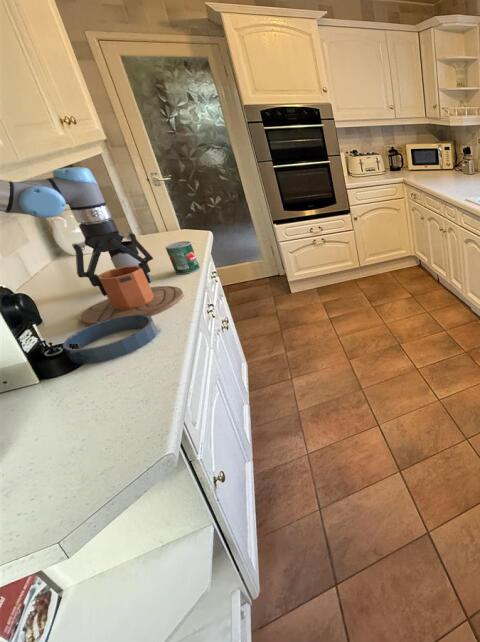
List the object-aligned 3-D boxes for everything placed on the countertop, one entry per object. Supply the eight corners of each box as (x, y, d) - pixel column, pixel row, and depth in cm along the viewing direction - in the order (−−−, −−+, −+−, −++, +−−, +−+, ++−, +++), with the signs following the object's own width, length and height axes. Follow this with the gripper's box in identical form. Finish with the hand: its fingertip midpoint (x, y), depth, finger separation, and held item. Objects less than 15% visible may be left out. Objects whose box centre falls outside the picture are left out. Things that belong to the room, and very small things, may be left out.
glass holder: (118, 288, 142) (100, 250, 136) (129, 275, 154) (112, 239, 148) (149, 283, 146) (132, 245, 140) (157, 270, 158) (142, 234, 151)
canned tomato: (173, 271, 156) (162, 245, 152) (197, 265, 162) (187, 239, 157) (178, 276, 152) (167, 249, 147) (202, 269, 157) (193, 243, 153)
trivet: (77, 338, 112) (73, 332, 112) (88, 306, 130) (85, 301, 129) (185, 309, 127) (183, 304, 126) (182, 284, 145) (181, 279, 144)
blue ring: (54, 373, 98) (43, 354, 96) (103, 335, 113) (95, 319, 111) (135, 362, 101) (126, 344, 99) (172, 327, 117) (165, 311, 114)
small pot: (159, 302, 128) (145, 271, 123) (118, 315, 120) (102, 282, 116) (148, 291, 135) (135, 262, 131) (109, 303, 128) (93, 272, 123)
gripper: (41, 233, 106) (80, 305, 115) (147, 214, 123) (174, 278, 132) (38, 228, 110) (75, 298, 120) (141, 210, 127) (167, 273, 136)
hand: (127, 288), depth 126 cm, fingers closed on small pot, 10 cm apart
